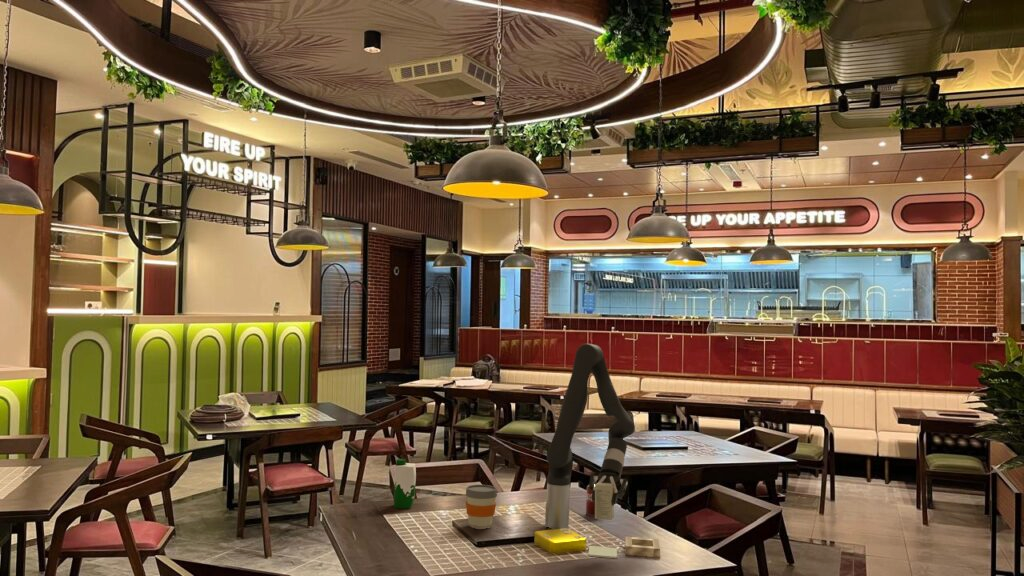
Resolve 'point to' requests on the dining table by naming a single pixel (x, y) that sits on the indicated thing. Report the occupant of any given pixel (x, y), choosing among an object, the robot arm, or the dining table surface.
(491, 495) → the reusable coffee cup
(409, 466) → the milk carton
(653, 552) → the pocket block
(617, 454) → the robot arm
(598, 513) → the skincare box
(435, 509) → the dining table surface
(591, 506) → the soda can
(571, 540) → the element tile
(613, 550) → the coaster
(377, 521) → the dining table surface
